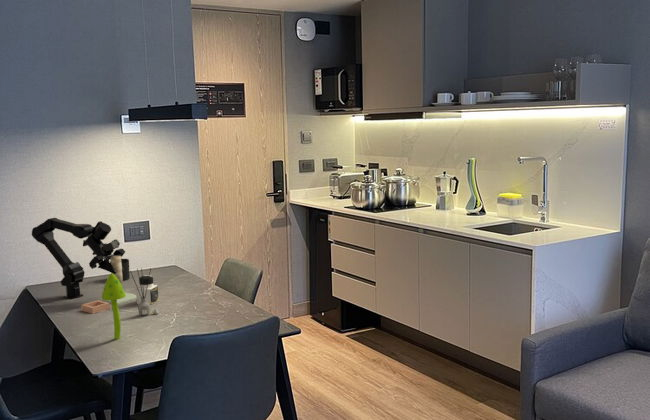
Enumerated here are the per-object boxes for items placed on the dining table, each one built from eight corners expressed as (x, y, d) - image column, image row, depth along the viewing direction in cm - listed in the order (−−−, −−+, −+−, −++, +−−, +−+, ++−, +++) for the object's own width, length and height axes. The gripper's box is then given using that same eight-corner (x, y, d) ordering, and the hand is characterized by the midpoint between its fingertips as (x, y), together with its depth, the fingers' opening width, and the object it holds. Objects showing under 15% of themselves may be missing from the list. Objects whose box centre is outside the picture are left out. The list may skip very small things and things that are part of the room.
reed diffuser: (134, 318, 256) (130, 270, 253) (132, 313, 262) (129, 267, 260) (159, 314, 260) (156, 268, 257) (157, 310, 266) (154, 264, 263)
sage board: (100, 300, 284) (100, 299, 284) (124, 293, 294) (124, 292, 294) (118, 304, 276) (117, 303, 276) (142, 297, 287) (142, 296, 286)
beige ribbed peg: (110, 288, 280) (108, 257, 278) (115, 285, 284) (113, 255, 282) (120, 288, 280) (118, 257, 278) (124, 285, 284) (122, 255, 282)
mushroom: (123, 333, 238) (118, 269, 235) (132, 338, 232) (127, 272, 228) (101, 338, 233) (96, 273, 229) (110, 344, 226) (105, 277, 223)
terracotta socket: (81, 310, 269) (81, 305, 269) (98, 305, 276) (98, 300, 276) (93, 313, 264) (92, 308, 264) (110, 308, 271) (109, 303, 271)
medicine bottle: (151, 304, 275) (149, 278, 273) (136, 304, 276) (134, 278, 274) (158, 300, 282) (157, 274, 280) (144, 299, 283) (142, 274, 281)
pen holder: (112, 278, 326) (110, 259, 324) (130, 276, 328) (129, 258, 326) (110, 282, 317) (108, 263, 315) (129, 280, 319) (128, 261, 317)
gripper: (92, 238, 271) (114, 265, 269) (120, 231, 289) (141, 255, 286) (79, 255, 275) (101, 281, 273) (108, 247, 293) (129, 271, 290)
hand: (119, 272), depth 281 cm, fingers closed on beige ribbed peg, 4 cm apart
